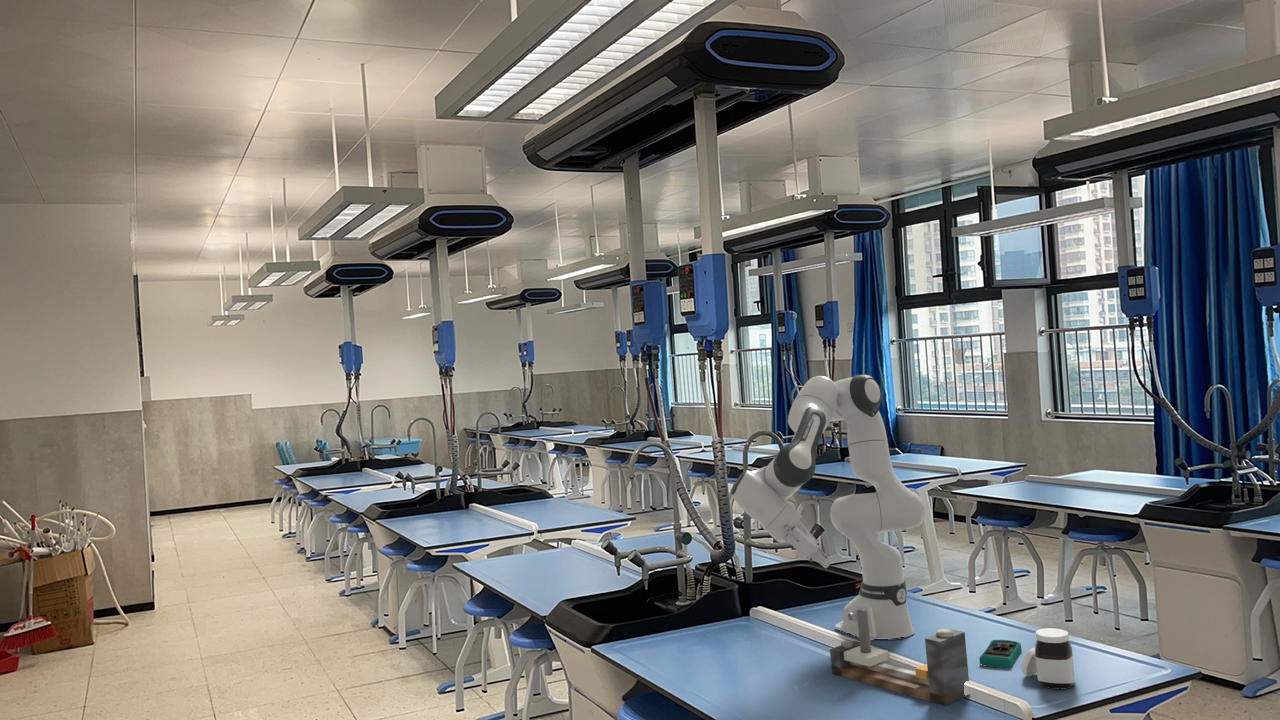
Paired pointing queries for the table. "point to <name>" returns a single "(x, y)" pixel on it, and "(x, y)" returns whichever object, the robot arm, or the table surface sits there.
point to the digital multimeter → (1000, 653)
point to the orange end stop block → (922, 672)
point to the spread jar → (1050, 659)
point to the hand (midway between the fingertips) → (827, 563)
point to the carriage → (865, 645)
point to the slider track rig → (942, 665)
